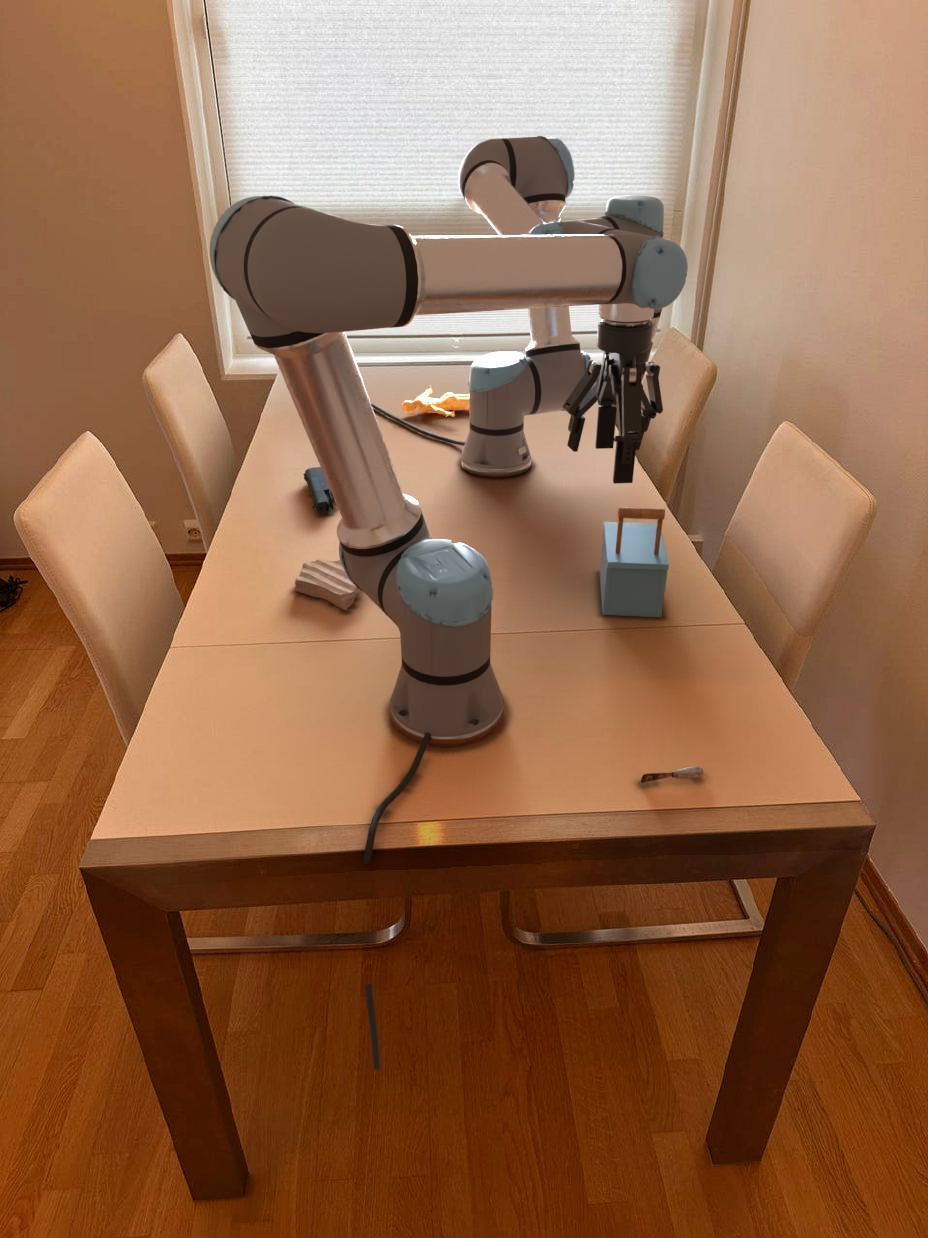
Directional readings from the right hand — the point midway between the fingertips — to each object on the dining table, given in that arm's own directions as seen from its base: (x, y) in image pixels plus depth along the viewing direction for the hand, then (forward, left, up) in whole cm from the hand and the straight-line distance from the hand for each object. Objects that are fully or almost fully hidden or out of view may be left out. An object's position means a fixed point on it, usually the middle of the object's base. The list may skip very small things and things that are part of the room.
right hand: (603, 447), depth 168 cm
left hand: (+30, -15, +10) cm, 35 cm away
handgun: (-25, -46, -13) cm, 54 cm away
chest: (+31, -10, -13) cm, 35 cm away
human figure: (-66, -8, -13) cm, 68 cm away
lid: (+31, -10, -4) cm, 33 cm away
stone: (+13, -56, -13) cm, 59 cm away
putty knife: (+73, -27, -13) cm, 79 cm away
